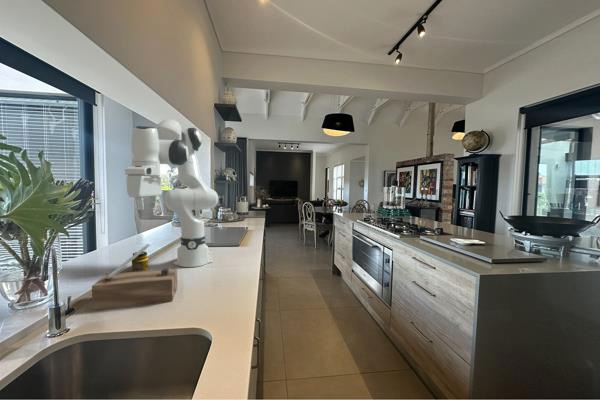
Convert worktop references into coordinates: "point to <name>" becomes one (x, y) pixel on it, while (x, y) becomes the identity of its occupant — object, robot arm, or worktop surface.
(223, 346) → the worktop surface
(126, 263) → the latch bar
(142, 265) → the condiment
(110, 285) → the walnut case
